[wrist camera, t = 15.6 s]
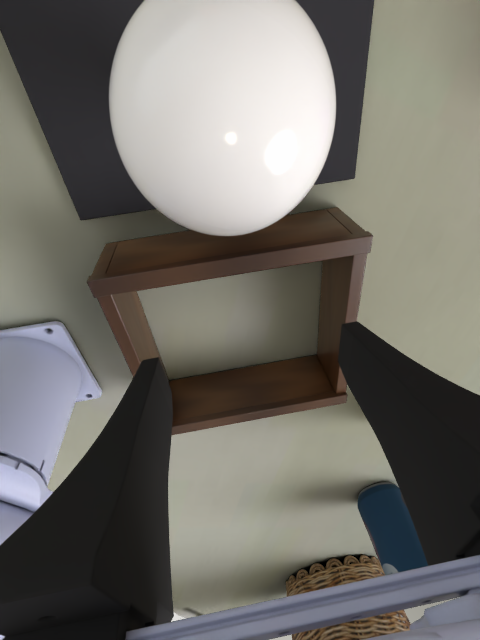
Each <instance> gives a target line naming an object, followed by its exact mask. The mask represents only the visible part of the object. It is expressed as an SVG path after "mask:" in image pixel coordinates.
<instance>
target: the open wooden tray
mask: <svg viewBox="0 0 480 640" xmlns="http://www.w3.org/2000/svg"><path fill="white" fill-rule="evenodd" d="M372 238H373V235H372V234H371V233H369V232H368V231H365V230H364V229H362V228H361V227H360V226H359V225H358V224H356V223H355V222H354V221H353V220H352V219H351V218H349V217H348V216H347V215H346V214H345V213H344V212H342V211H341V210H340V209H339V208H338V207H336V208H330V209H323V210H317V211H310V212H304V213H298V214H291V215H286V216H284V217H283V218H282V219H280V220H279V221H277V222H275V223H274V224H272V225H270V226H268V227H266V228H263V229H261V230H258V231H255V232H252V233H249V234H244V235H238V236H214V235H208V234H203V233H199V232H196V231H193V230H189V231H183V232H176V233H170V234H163V235H157V236H151V237H144V238H138V239H131V240H125V241H119V242H113V243H107V244H106V245H105V247H104V249H103V251H102V253H101V255H100V258H99V260H98V262H97V264H96V266H95V268H94V271H93V273H92V275H91V276H89V278H88V280H87V284H88V286H89V288H90V290H91V292H92V294H93V296H94V298H96V297H97V299H98V301H99V303H100V305H101V308H102V310H103V312H104V314H105V316H106V318H107V321H108V323H109V325H110V327H111V329H112V332H113V334H114V336H115V338H116V340H117V342H118V345H119V347H120V349H121V351H122V353H123V355H124V358H125V360H126V362H127V364H128V366H129V368H130V371H131V373H132V375H133V377H134V375H135V373H136V371H137V369H138V367H139V365H140V363H141V362H142V361H143V360H146V359H151V358H157V357H159V359H160V362H161V365H162V367H163V370H164V372H165V375H166V378H167V380H168V377H167V374H166V371H165V369H164V366H163V363H162V360H161V358H160V355H159V352H158V349H157V347H156V344H155V341H154V338H153V336H152V333H151V330H150V327H149V325H148V322H147V319H146V316H145V314H144V311H143V308H142V305H141V303H140V300H139V297H138V294H137V291H139V290H145V289H151V288H157V287H164V286H170V285H176V284H182V283H188V282H194V281H200V280H206V279H212V278H218V277H225V276H231V275H237V274H243V273H249V272H255V271H261V270H267V269H273V268H279V267H286V266H292V265H298V264H304V263H310V262H316V261H322V260H323V263H322V280H321V296H320V313H319V329H318V346H317V355H312V356H306V357H301V358H295V359H289V360H284V361H278V362H273V363H267V364H261V365H256V366H250V367H244V368H239V369H233V370H228V371H222V372H216V373H211V374H205V375H199V376H194V377H188V378H182V379H177V380H171V381H169V380H168V383H169V386H170V388H171V391H172V406H173V421H172V434H171V435H175V434H181V433H186V432H191V431H197V430H202V429H208V428H213V427H218V426H224V425H229V424H235V423H240V422H245V421H251V420H256V419H261V418H267V417H272V416H278V415H283V414H288V413H294V412H299V411H305V410H310V409H315V408H321V407H326V406H332V405H337V404H342V403H346V401H347V393H346V388H347V383H346V380H345V378H344V376H343V373H342V371H341V368H340V365H339V363H338V354H339V344H340V335H341V326H342V324H345V323H350V322H356V321H357V316H358V310H359V303H360V297H361V290H362V284H363V277H364V271H365V264H366V258H367V253H370V251H371V245H372Z"/></svg>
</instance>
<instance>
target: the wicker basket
mask: <svg viewBox="0 0 480 640" xmlns="http://www.w3.org/2000/svg"><path fill="white" fill-rule="evenodd" d="M331 562H332V563H331ZM350 562H352V563H354V564H350ZM359 562H360V563H359ZM365 562H367V563H365ZM333 565H336V566H337V567H333V568H332V566H333ZM316 570H319V572H316ZM302 572H303V573H302ZM315 572H316V573H315ZM302 576H304V578H302ZM380 576H385V574H384V571H383V569H382V566H381V564H380V562H379V560H377V559H376V558H375V557H374V556H372V557H371V560H370V558H369V557H367V556H366V555H361V556H360V559H359V561H358V560H357V559H356V558H355V557H354V556H350V555H349V556H346V557H345V559H344V565H342V563H341V562H340V561H339V560H338V559H335V558H332V559H330V560H328V562H327V564H326V569H325V568H324V567H323V566H322V565H321V564H319V563H315V564H313V565H312V566H311V568H310V575H309V574H308V572H307V571H306V570H304V569H301V570H299V571H298V573H297V577H296V578H295V576H293V575H291V576H290V577H289V582H288V581H286V590H287V597H288V596H293V595H297V594H302V593H306V592H311V591H316V590H320V589H325V588H329V587H334V586H339V585H343V584H348V583H352V582H357V581H362V580H366V579H371V578H375V577H380ZM409 627H410V622H409V620H408V618H407V616H406V614H405V612H404V610H399V611H395V612H390V613H386V614H381V615H377V616H372V617H368V618H363V619H359V620H354V621H350V622H345V623H341V624H336V625H332V626H327V627H323V628H318V629H314V630H309V631H305V632H300V633H296V634H292V640H363V639H368V638H372V637H377V636H382V635H387V634H393V633H398V632H404V631H409V630H410V628H409Z"/></svg>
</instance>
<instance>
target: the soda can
mask: <svg viewBox="0 0 480 640" xmlns="http://www.w3.org/2000/svg"><path fill="white" fill-rule="evenodd" d="M358 509H359V512H360V514H361V517H362V519H363V522H364V524H365V527H366V529H367V532H368V534H369V536H370V539H371V541H372V544H373V546H374V549H375V551H376V554H377V556H378V559H379V561H380V564H381V566H382V569H383V571H384V574H385V575H389V574H394V573H399V572H403V571H408V570H412V569H417V568H422V567H426V566H428V564H427V561H426V558H425V555H424V552H423V549H422V546H421V543H420V541H419V538H418V535H417V532H416V530H415V527H414V524H413V521H412V519H411V516H410V514H409V511H408V508H407V506H406V503H405V501H404V498H403V496H402V493H401V491H400V488H399V487H397V486H396V485H395V484H393V483H391V482H381V483H376V484H373V485H371V486H368V487H366V488H365V489H363V490H362V491H361V492H360V493H359V496H358Z"/></svg>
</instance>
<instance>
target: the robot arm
mask: <svg viewBox="0 0 480 640" xmlns="http://www.w3.org/2000/svg"><path fill="white" fill-rule="evenodd" d="M47 328H50V329H52V330H53V331H50V330H48V329H47ZM338 363H339V365H340V368H341V371H342V373H343V376H344V378H345V380H346V383H347V385H348V386H349V388H350V390H351V392H352V394H353V395H354V397H355V399H356V401H357V402H358V404H359V406H360V408H361V409H362V411H363V413H364V415H365V416H366V418H367V420H368V422H369V423H370V425H371V427H372V429H373V430H374V432H375V434H376V436H377V438H378V440H379V442H380V444H381V446H382V449H383V451H384V453H385V455H386V458H387V460H388V462H389V464H390V467H391V469H392V472H393V474H394V476H395V479H396V481H397V483H398V486H399V488H400V491H401V493H402V496H403V498H404V501H405V503H406V506H407V508H408V511H409V514H410V516H411V519H412V521H413V524H414V527H415V530H416V532H417V535H418V538H419V541H420V543H421V546H422V549H423V552H424V555H425V558H426V561H427V564H428V566H426V567H422V568H417V569H412V570H408V571H403V572H399V573H394V574H389V575H385V576H380V577H375V578H371V579H366V580H362V581H357V582H352V583H348V584H343V585H339V586H334V587H329V588H325V589H320V590H316V591H311V592H306V593H302V594H297V595H293V596H288V597H283V598H279V599H274V600H270V601H265V602H260V603H256V604H251V605H247V606H242V607H237V608H233V609H228V610H224V611H219V612H214V613H210V614H205V615H201V616H196V617H191V618H187V619H182V620H178V621H173V622H171V620H172V618H173V616H174V614H173V601H172V585H171V568H170V546H169V517H168V471H169V459H170V446H171V434H172V421H173V406H172V391H171V388H170V386H169V383H168V380H167V378H166V375H165V372H164V370H163V367H162V365H161V362H160V359H159V357H157V358H151V359H146V360H143V361H142V362H141V363H140V365H139V367H138V369H137V371H136V373H135V375H134V377H133V379H132V381H131V383H130V385H129V387H128V389H127V391H126V393H125V394H124V396H123V398H122V400H121V401H120V403H119V405H118V407H117V408H116V410H115V412H114V413H113V415H112V416H111V418H110V420H109V421H108V423H107V424H106V426H105V428H104V429H103V431H102V432H101V434H100V435H99V436H98V438H97V439H96V441H95V442H94V443H93V445H92V446H91V448H90V449H89V450H88V452H87V453H86V454H85V456H84V457H83V458H82V459H81V461H80V462H79V463H78V464H77V466H76V467H75V468H74V469H73V470H72V472H71V473H70V474H69V475H68V477H67V478H66V479H65V480H64V481H63V482H62V483H61V485H60V486H59V487H58V488H57V489H56V490H55V491H54V492H52V491H51V490H49V489H48V488H47V486H48V483H49V480H50V477H51V474H52V471H53V468H54V465H55V462H56V459H57V456H58V453H59V450H60V447H61V444H62V440H63V437H64V434H65V431H66V428H67V425H68V422H69V419H70V416H71V413H72V410H73V407H74V404H75V402H79V401H84V400H90V399H95V398H99V397H101V395H102V390H101V388H100V386H99V385H98V383H97V381H96V379H95V378H94V376H93V374H92V372H91V371H90V369H89V367H88V365H87V364H86V362H85V360H84V358H83V357H82V355H81V353H80V351H79V350H78V348H77V346H76V344H75V343H74V341H73V339H72V337H71V336H70V334H69V332H68V330H67V329H66V327H65V325H64V324H63V323H61V322H58V321H53V322H47V323H41V324H35V325H29V326H23V327H17V328H11V329H5V330H0V640H269V639H273V638H278V637H282V636H287V635H291V634H296V633H300V632H305V631H309V630H314V629H318V628H323V627H327V626H332V625H336V624H341V623H345V622H350V621H354V620H359V619H363V618H368V617H372V616H377V615H381V614H386V613H390V612H395V611H399V610H404V609H408V608H412V607H417V606H421V605H426V604H431V603H435V602H440V601H444V600H449V599H453V598H456V599H453V600H450V601H447V602H444V603H442V604H439V605H436V606H433V607H430V608H427V609H425V611H424V615H423V616H422V617H421V618H420V619H419V620H417V621H415V622H413V623H412V624H410V627H409V628H410V630H409V631H404V632H398V633H393V634H387V635H382V636H377V637H372V638H368V639H363V640H480V395H477V394H475V393H473V392H471V391H468V390H466V389H464V388H462V387H460V386H458V385H456V384H454V383H452V382H450V381H448V380H447V379H445V378H443V377H441V376H439V375H437V374H435V373H434V372H432V371H430V370H428V369H427V368H425V367H423V366H422V365H420V364H418V363H417V362H415V361H413V360H412V359H410V358H409V357H407V356H406V355H404V354H403V353H401V352H400V351H398V350H397V349H395V348H394V347H392V346H391V345H389V344H388V343H387V342H385V341H384V340H382V339H381V338H379V337H378V336H377V335H375V334H374V333H373V332H371V331H370V330H368V329H367V328H366V327H364V326H363V325H361V324H360V323H359V322H357V321H356V322H350V323H345V324H342V326H341V335H340V344H339V354H338ZM457 597H459V598H457Z"/></svg>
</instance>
